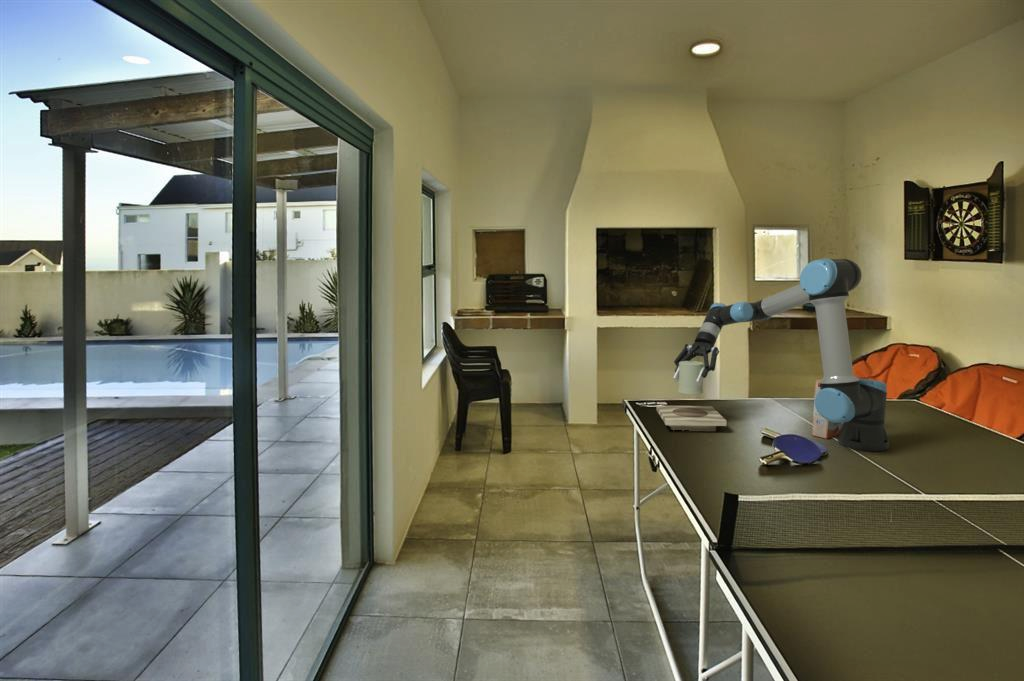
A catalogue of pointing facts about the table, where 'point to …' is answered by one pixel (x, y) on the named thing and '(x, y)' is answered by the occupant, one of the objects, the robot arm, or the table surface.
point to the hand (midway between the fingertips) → (686, 381)
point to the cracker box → (823, 421)
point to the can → (690, 377)
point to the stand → (691, 417)
